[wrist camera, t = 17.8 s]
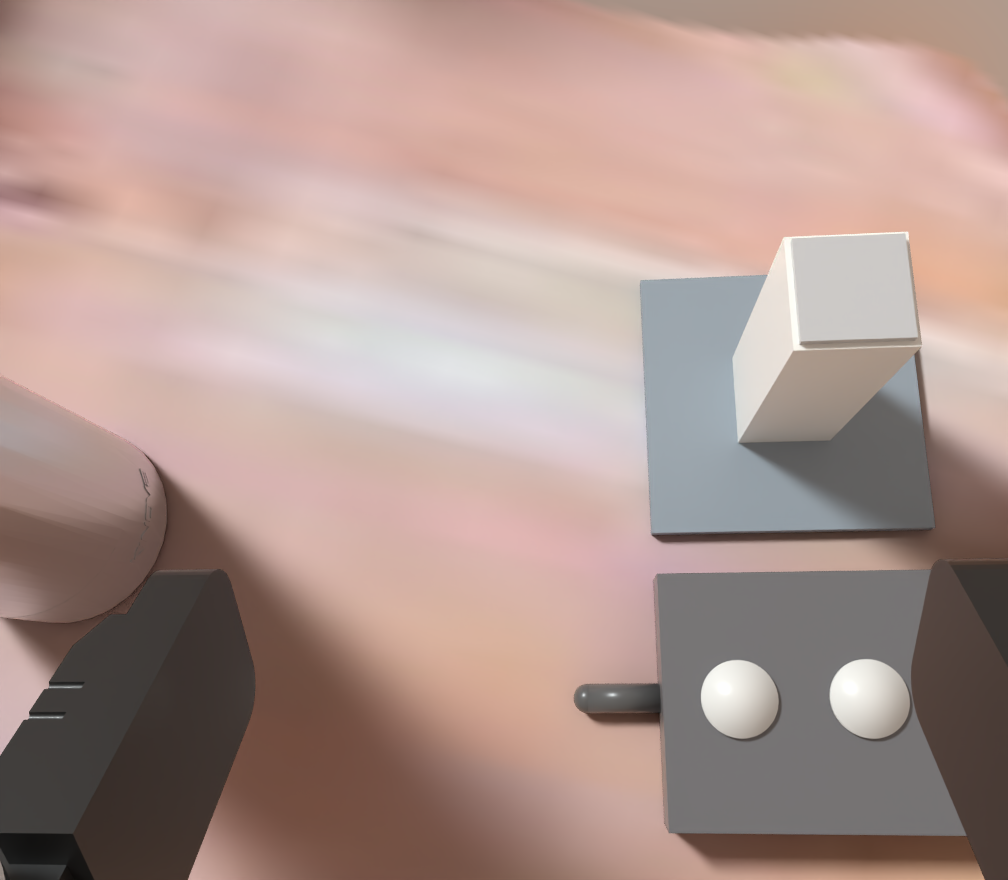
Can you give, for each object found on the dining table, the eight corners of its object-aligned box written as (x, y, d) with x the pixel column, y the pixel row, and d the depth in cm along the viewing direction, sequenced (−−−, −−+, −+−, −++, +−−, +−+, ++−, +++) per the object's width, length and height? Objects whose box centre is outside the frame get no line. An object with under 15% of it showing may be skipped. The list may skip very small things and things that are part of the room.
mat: (651, 534, 42) (652, 533, 41) (640, 285, 45) (640, 280, 44) (930, 529, 40) (935, 527, 40) (899, 274, 43) (903, 268, 43)
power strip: (576, 822, 39) (575, 834, 36) (571, 581, 41) (569, 573, 38) (1286, 828, 36) (1348, 842, 33) (1234, 571, 39) (1287, 562, 36)
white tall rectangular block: (737, 442, 42) (795, 347, 30) (732, 357, 43) (785, 233, 31) (830, 440, 41) (925, 342, 29) (822, 355, 42) (911, 227, 30)
